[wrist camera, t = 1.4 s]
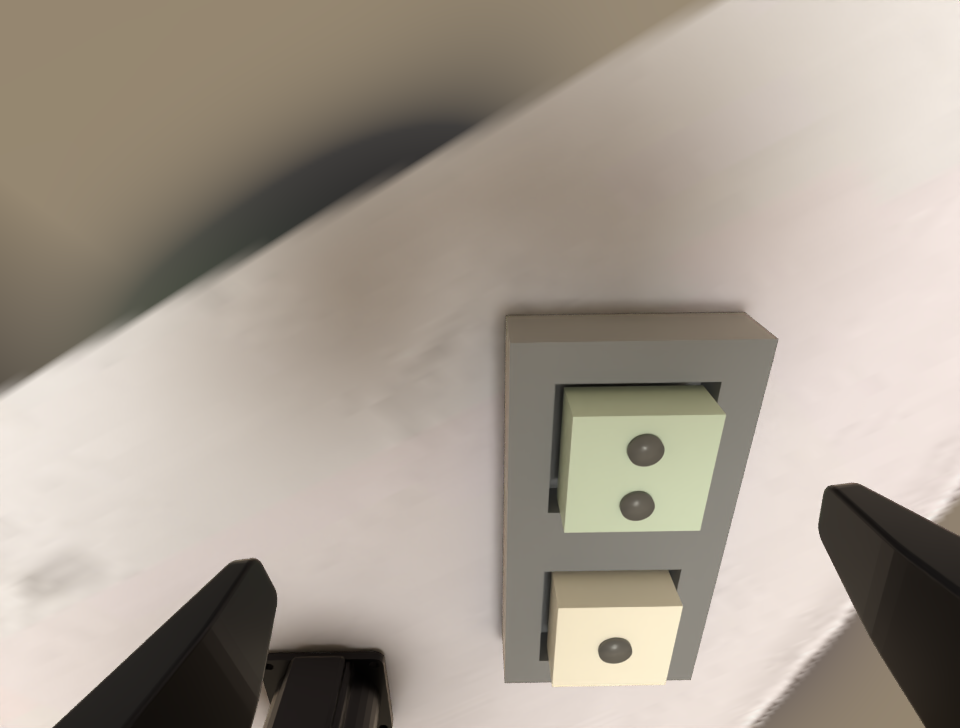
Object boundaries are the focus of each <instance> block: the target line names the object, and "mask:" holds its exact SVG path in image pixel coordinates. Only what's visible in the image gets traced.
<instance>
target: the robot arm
mask: <svg viewBox="0 0 960 728" xmlns="http://www.w3.org/2000/svg"><path fill="white" fill-rule="evenodd" d="M818 529H819V534H820V538H821V540H822V542H823V545H824V547H825V549H826V551H827V553H828V555H829V557H830V559H831V561H832V563H833V565H834V567H835V569H836V571H837V573H838V575H839V577H840V579H841V581H842V583H843V585H844V587H845V589H846V591H847V593H848V595H849V597H850V599H851V601H852V603H853V605H854V607H855V609H856V612H857V614H858V616H859V618H860V620H861V621H862V624H863V625H864V627H865V629H866V631H867V633H868V635H869V637H870V638H871V640H872V642H873V644H874V645H875V647H876V649H877V650H878V652H879V654H880V656H881V657H882V659H883V660H884V662H885V664H886V665H887V667H888V668H889V670H890V672H891V673H892V675H893V676H894V678H895V680H896V681H897V683H898V684H899V686H900V688H901V689H902V691H903V692H904V694H905V695H906V697H907V699H908V700H909V702H910V703H911V705H912V707H913V708H914V710H915V712H916V713H917V715H918V716H919V718H920V719H921V721H922V723H923V724H924V726H925V728H960V536H959V535H957V534H955V533H953V532H951V531H949V530H947V529H945V528H943V527H941V526H940V525H938V524H936V523H934V522H932V521H930V520H928V519H926V518H924V517H922V516H920V515H918V514H917V513H915V512H913V511H911V510H909V509H907V508H905V507H903V506H901V505H899V504H897V503H895V502H894V501H892V500H890V499H888V498H886V497H884V496H882V495H880V494H878V493H876V492H874V491H872V490H871V489H869V488H867V487H865V486H863V485H861V484H858V483H846V484H837V485H830V486H828V487H827V488H826V489H825V490H824V494H823V499H822V505H821V511H820V517H819V523H818ZM276 607H277V594H276V590H275V588H274V586H273V584H272V582H271V580H270V578H269V576H268V574H267V573H266V571H265V569H264V567H263V565H262V563H261V562H260V561H259V560H258V559H256V558H250V559H242V560H235V561H232V562H230V563H229V564H228V565H227V566H226V567H224V568H223V569H222V570H221V571H220V572H219V573H218V574H217V575H216V576H215V577H214V578H213V579H212V580H210V581H209V582H208V583H207V584H206V585H205V586H204V587H203V588H202V589H201V590H200V591H199V592H198V593H197V594H195V595H194V596H193V597H192V598H191V599H190V600H189V601H188V602H187V603H186V604H185V605H184V606H183V607H181V608H180V609H179V610H178V611H177V612H176V613H175V614H174V615H173V616H172V617H171V618H170V619H169V620H168V621H166V622H165V623H164V624H163V625H162V626H161V627H160V628H159V629H158V630H157V631H156V632H155V633H154V634H152V635H151V636H150V637H149V638H148V639H147V640H146V641H145V642H144V643H143V644H142V645H141V646H140V647H139V648H137V649H136V650H135V651H134V652H133V653H132V654H131V655H130V656H129V657H128V658H127V659H126V660H125V661H123V662H122V663H121V664H120V665H119V666H118V667H117V668H116V669H115V670H114V671H113V672H112V673H111V674H110V675H108V676H107V677H106V678H105V679H104V680H103V681H102V682H101V683H100V684H99V685H98V686H97V687H96V688H94V689H93V690H92V691H91V692H90V693H89V694H88V695H87V696H86V697H85V698H84V699H83V700H82V701H81V702H79V703H78V704H77V705H76V706H75V707H74V708H73V709H72V710H71V711H70V712H69V713H68V714H67V715H65V716H64V717H63V718H62V719H61V720H60V721H59V722H58V723H57V724H56V725H55V726H54V727H53V728H251V726H252V723H253V719H254V716H255V712H256V708H257V704H258V701H259V696H260V692H261V687H262V682H263V681H264V685H265V688H266V691H267V695H268V698H269V701H270V708H269V711H268V714H267V717H266V720H265V723H264V726H263V728H392V725H393V715H392V708H391V701H390V694H389V686H388V679H387V672H386V664H385V658H384V655H382V654H381V653H379V652H327V653H269V654H268V650H269V645H270V639H271V634H272V628H273V623H274V618H275V612H276Z"/></svg>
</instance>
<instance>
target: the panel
mask: <svg viewBox="0 0 960 728" xmlns="http://www.w3.org/2000/svg"><path fill="white" fill-rule="evenodd" d="M777 343H778V338H777V337H775V336H774V335H773V334H772V333H770V332H769V331H768V330H767V329H765V328H764V327H763V326H762V325H760V324H759V323H758V322H757V321H755V320H754V319H753V318H752V317H750V316H749V315H748V314H747V313H745V312H723V313H652V314H581V315H510V316H506V350H505V439H504V527H503V616H502V641H503V660H504V679H505V683H538V682H552V681H551V674H550V666H549V659H548V651H547V634H548V619H549V604H550V589H551V574H552V572H553V571H614V570H668V571H669V573H670V576H671V578H672V581H673V583H674V586H675V588H676V590H677V593H678V595H679V598H680V600H681V603H682V605H683V608H682V613H681V617H680V622H679V626H678V630H677V635H676V639H675V644H674V648H673V653H672V657H671V661H670V666H669V670H668V675H667V679H666V680H691V677H692V673H693V669H694V665H695V661H696V658H697V654H698V650H699V646H700V642H701V638H702V634H703V630H704V626H705V623H706V619H707V615H708V611H709V607H710V603H711V599H712V595H713V592H714V588H715V584H716V580H717V576H718V572H719V568H720V564H721V560H722V557H723V553H724V549H725V545H726V541H727V537H728V533H729V529H730V526H731V522H732V518H733V514H734V510H735V506H736V502H737V498H738V494H739V491H740V487H741V483H742V479H743V475H744V471H745V467H746V463H747V459H748V456H749V452H750V448H751V444H752V440H753V436H754V432H755V428H756V425H757V421H758V417H759V413H760V409H761V405H762V401H763V397H764V393H765V390H766V386H767V382H768V378H769V374H770V370H771V366H772V362H773V359H774V355H775V351H776V347H777ZM678 385H703V386H704V387H705V388H706V390H707V391H708V392H709V393H710V395H711V396H712V397H713V399H714V400H715V401H716V402H717V404H718V405H719V406H720V407H721V409H722V410H723V411H724V412H725V414H726V418H725V422H724V427H723V431H722V436H721V440H720V444H719V449H718V453H717V458H716V462H715V467H714V471H713V475H712V480H711V484H710V489H709V493H708V498H707V502H706V506H705V511H704V515H703V520H702V524H701V529H700V531H646V532H583V533H564V530H563V525H562V520H561V515H560V510H559V505H558V501H557V484H558V469H559V454H560V439H561V424H562V409H563V394H564V387H610V386H678Z"/></svg>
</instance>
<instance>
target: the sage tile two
mask: <svg viewBox="0 0 960 728" xmlns="http://www.w3.org/2000/svg"><path fill="white" fill-rule="evenodd" d="M725 418H726V414H725V412H724V411H723V410H722V409H721V407H720V406H719V405H718V404H717V402H716V401H715V400H714V399H713V397H712V396H711V395H710V393H709V392H708V391H707V390H706V388H705V387H704V386H703V385H678V386H610V387H564V394H563V409H562V424H561V439H560V454H559V469H558V484H557V501H558V505H559V510H560V515H561V520H562V525H563V530H564V533H583V532H646V531H700V529H701V524H702V520H703V515H704V511H705V506H706V502H707V498H708V493H709V489H710V484H711V480H712V475H713V471H714V467H715V462H716V458H717V453H718V449H719V444H720V440H721V436H722V431H723V427H724V422H725Z"/></svg>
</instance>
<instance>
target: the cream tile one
mask: <svg viewBox="0 0 960 728" xmlns="http://www.w3.org/2000/svg"><path fill="white" fill-rule="evenodd" d="M682 608H683V605H682V603H681V600H680V598H679V595H678V593H677V590H676V588H675V586H674V583H673V581H672V578H671V576H670V573H669V571H668V570H614V571H553V572H552V574H551V589H550V604H549V619H548V634H547V651H548V659H549V666H550V674H551V681H552V687H570V686H628V685H665V684H666V679H667V675H668V670H669V666H670V661H671V657H672V653H673V648H674V644H675V639H676V635H677V630H678V626H679V622H680V617H681V613H682Z"/></svg>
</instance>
